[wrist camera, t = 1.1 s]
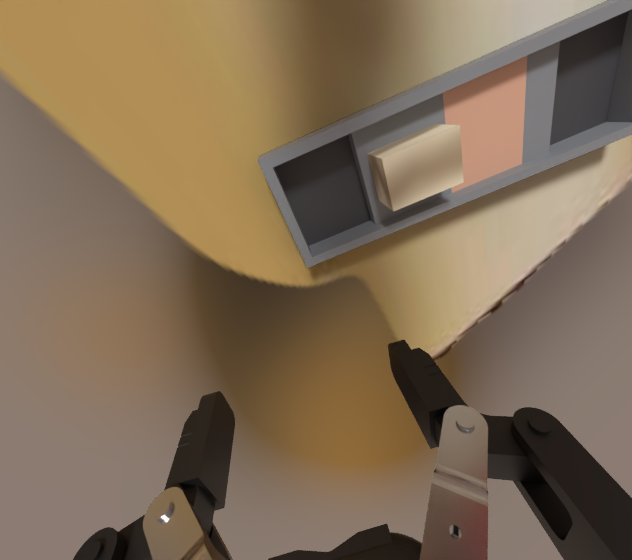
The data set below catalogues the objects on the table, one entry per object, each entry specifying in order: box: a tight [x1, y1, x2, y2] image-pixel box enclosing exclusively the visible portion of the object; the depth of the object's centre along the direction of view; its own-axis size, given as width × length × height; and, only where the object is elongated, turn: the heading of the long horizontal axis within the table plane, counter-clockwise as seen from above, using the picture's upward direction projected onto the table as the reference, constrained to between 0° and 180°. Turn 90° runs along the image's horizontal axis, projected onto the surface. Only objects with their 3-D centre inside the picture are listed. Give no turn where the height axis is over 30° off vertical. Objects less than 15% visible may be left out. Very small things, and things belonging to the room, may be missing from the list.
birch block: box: [367, 124, 464, 212], centre depth 26 cm, size 5×7×4 cm
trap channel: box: [258, 0, 632, 268], centre depth 28 cm, size 12×38×4 cm, turn 111°
